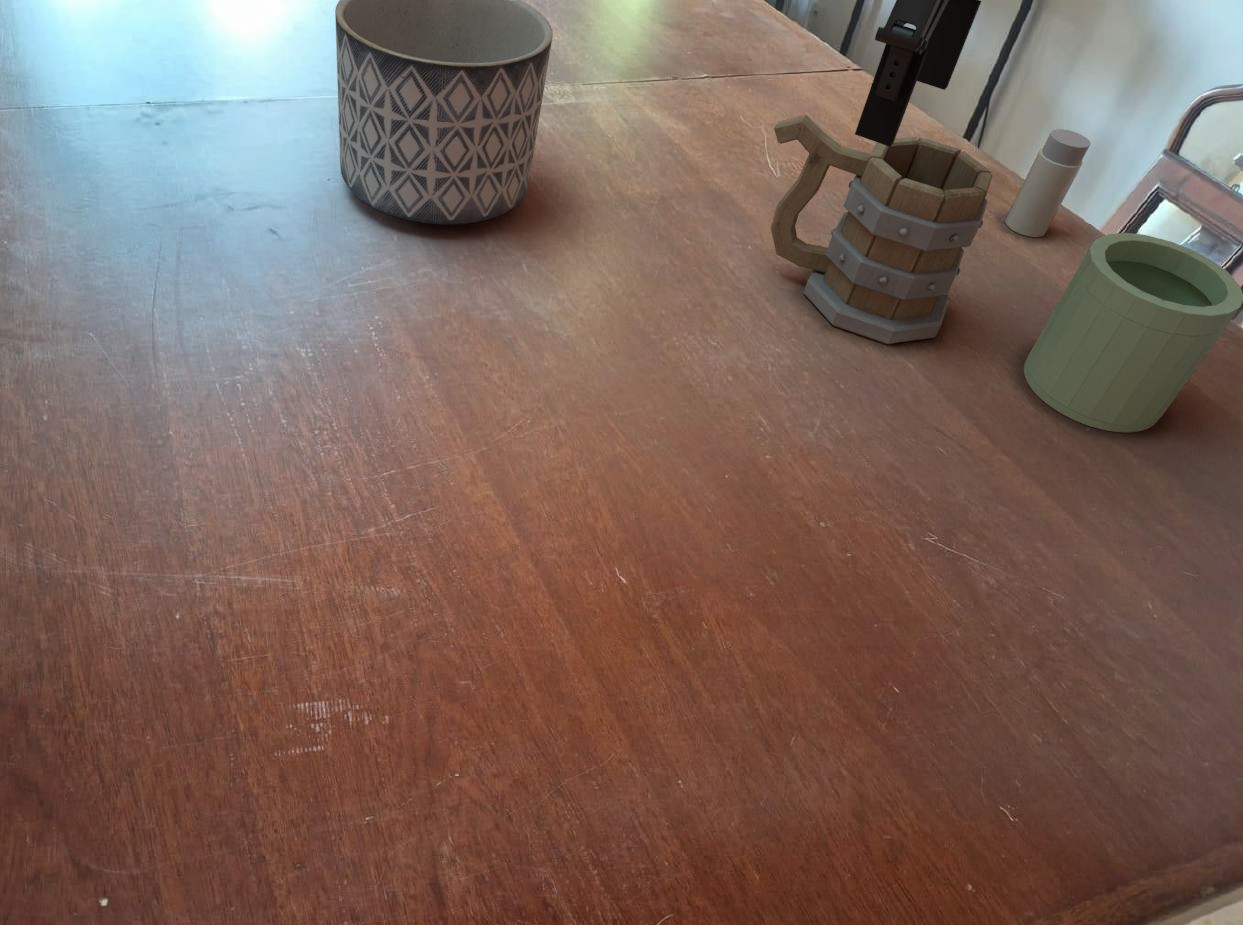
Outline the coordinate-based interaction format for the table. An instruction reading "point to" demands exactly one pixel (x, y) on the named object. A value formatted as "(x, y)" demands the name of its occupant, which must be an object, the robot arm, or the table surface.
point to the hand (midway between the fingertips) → (903, 110)
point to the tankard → (884, 231)
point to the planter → (439, 104)
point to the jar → (1130, 331)
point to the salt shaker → (1047, 183)
